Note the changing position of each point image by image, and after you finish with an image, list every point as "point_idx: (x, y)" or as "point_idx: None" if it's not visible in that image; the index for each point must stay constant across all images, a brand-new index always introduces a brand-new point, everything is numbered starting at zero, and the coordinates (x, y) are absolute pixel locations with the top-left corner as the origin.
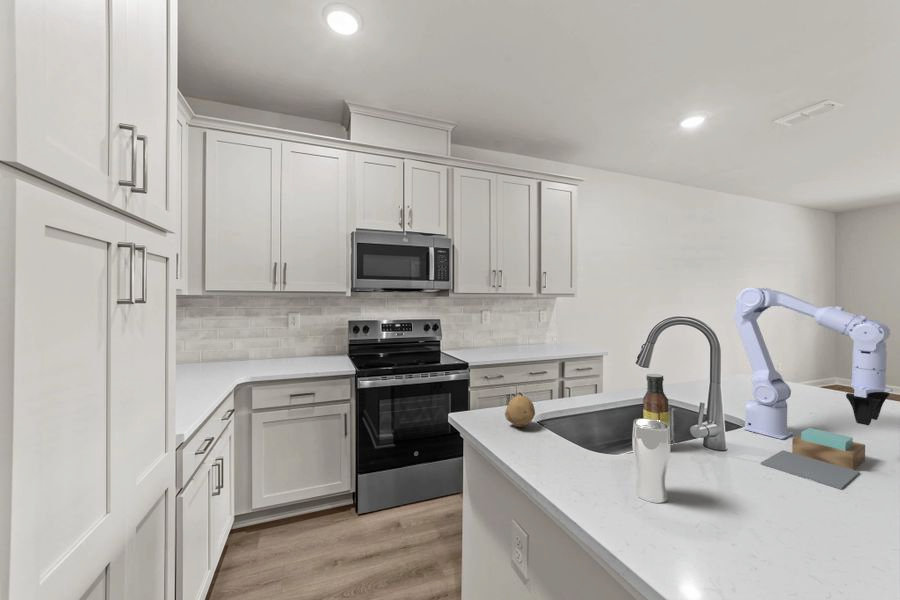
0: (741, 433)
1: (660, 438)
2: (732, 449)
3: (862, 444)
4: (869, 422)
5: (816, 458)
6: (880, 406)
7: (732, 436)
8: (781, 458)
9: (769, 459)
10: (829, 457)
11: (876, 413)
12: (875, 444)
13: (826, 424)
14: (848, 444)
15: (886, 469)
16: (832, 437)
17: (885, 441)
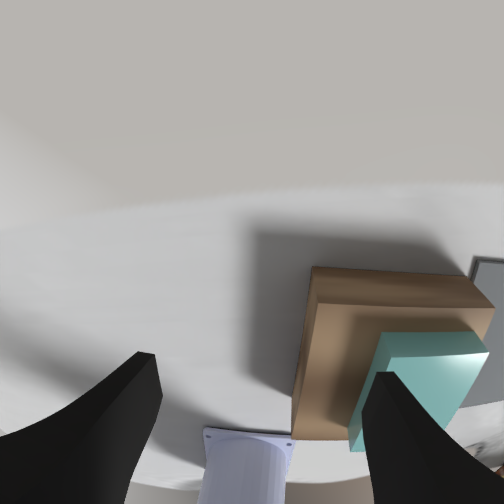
0: (320, 476)
1: None
2: (462, 444)
3: (326, 310)
4: (403, 384)
5: None
6: (95, 425)
7: (364, 475)
8: (483, 392)
9: (501, 397)
10: None
11: (133, 389)
12: (56, 261)
13: (15, 359)
14: (447, 343)
15: (366, 202)
16: (446, 391)
17: (6, 244)
